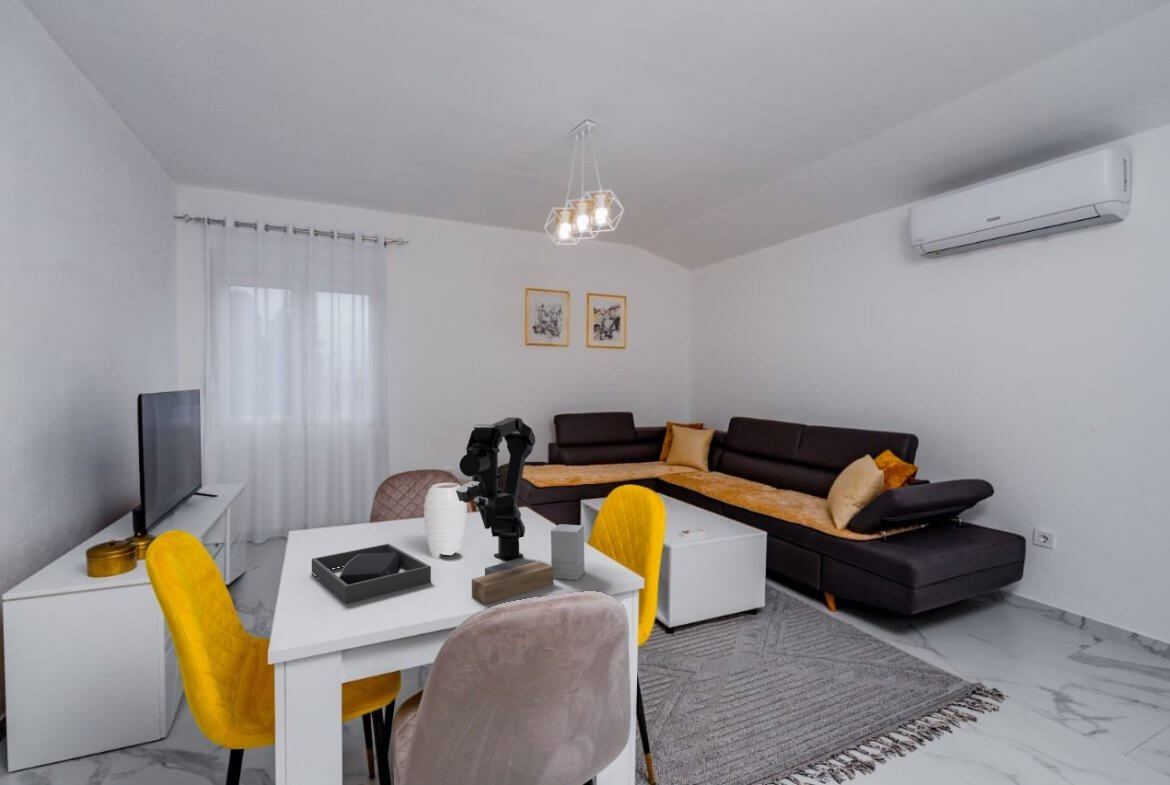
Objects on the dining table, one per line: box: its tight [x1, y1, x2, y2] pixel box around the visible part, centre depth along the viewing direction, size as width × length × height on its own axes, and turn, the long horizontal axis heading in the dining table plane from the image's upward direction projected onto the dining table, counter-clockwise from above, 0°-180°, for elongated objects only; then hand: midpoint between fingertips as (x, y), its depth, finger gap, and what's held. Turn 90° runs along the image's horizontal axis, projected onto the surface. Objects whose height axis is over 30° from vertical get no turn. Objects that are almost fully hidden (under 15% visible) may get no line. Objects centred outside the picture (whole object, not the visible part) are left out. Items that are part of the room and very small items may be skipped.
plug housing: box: [484, 562, 517, 576], centre depth 135 cm, size 5×6×4 cm
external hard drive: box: [338, 552, 400, 585], centre depth 140 cm, size 13×19×4 cm
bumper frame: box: [311, 543, 432, 605], centre depth 140 cm, size 28×21×4 cm
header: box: [471, 560, 554, 606], centre depth 132 cm, size 11×20×4 cm, turn 132°
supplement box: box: [550, 523, 586, 581], centre depth 141 cm, size 7×7×13 cm
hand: (487, 528), depth 143 cm, fingers closed
